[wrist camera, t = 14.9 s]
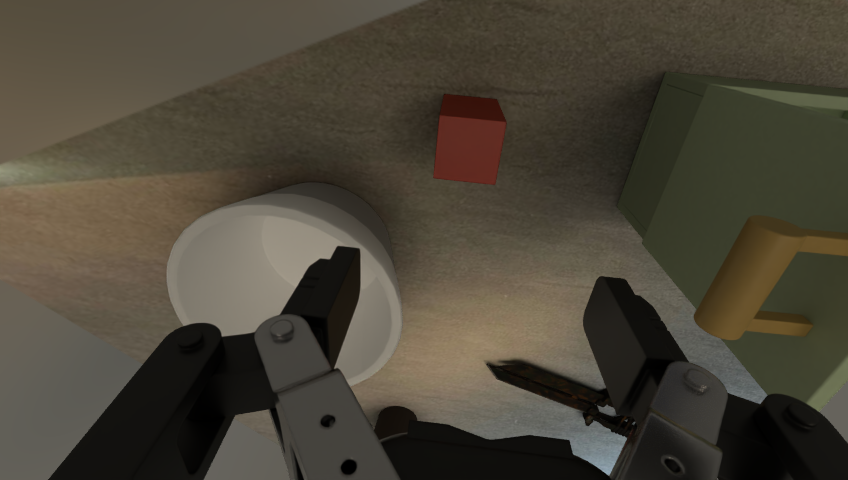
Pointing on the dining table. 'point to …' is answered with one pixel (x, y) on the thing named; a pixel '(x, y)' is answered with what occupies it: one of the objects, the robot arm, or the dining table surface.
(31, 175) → the dining table surface
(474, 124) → the block
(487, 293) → the dining table surface
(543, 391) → the knife
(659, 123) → the chest
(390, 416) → the coffee cup
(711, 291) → the lid
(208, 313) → the bowl
